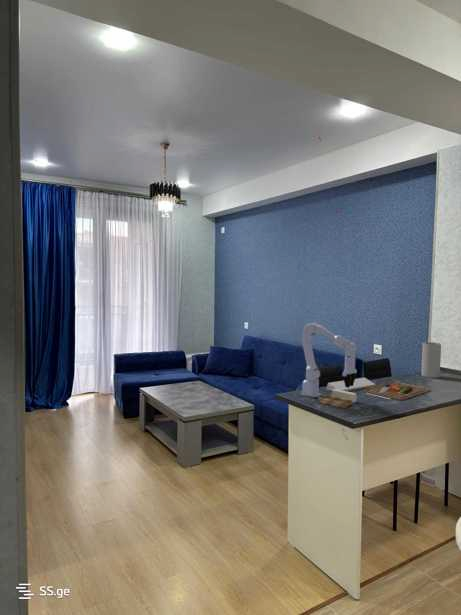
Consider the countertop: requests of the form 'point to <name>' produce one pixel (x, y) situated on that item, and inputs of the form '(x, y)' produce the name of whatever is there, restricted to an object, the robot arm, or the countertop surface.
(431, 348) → the cylinder vase
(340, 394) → the light grey rectangular block
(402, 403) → the countertop surface
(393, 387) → the chopping board
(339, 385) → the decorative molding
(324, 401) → the oak rack
